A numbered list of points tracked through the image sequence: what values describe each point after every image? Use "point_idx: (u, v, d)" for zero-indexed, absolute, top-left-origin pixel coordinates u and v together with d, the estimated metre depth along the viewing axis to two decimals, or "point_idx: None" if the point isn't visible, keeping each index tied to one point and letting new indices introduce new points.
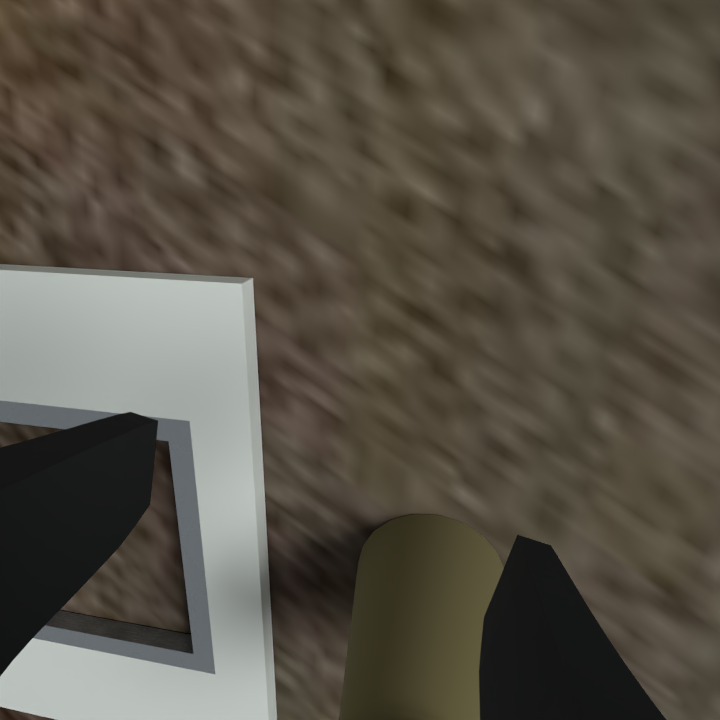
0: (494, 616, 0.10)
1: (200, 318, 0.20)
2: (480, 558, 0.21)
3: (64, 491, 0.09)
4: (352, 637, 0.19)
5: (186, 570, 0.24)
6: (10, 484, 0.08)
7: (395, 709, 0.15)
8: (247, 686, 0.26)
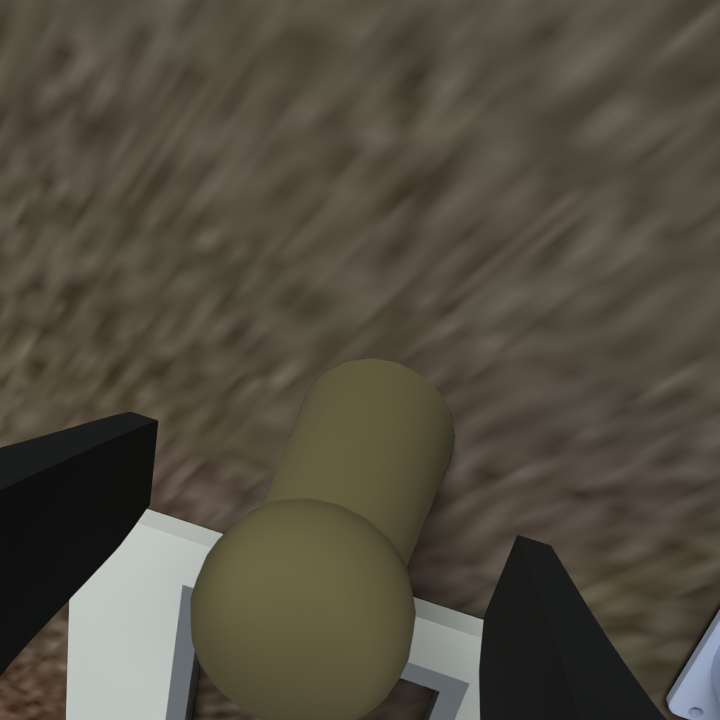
0: (494, 616, 0.10)
1: None
2: (323, 385, 0.20)
3: (64, 491, 0.09)
4: None
5: None
6: (10, 484, 0.08)
7: None
8: None
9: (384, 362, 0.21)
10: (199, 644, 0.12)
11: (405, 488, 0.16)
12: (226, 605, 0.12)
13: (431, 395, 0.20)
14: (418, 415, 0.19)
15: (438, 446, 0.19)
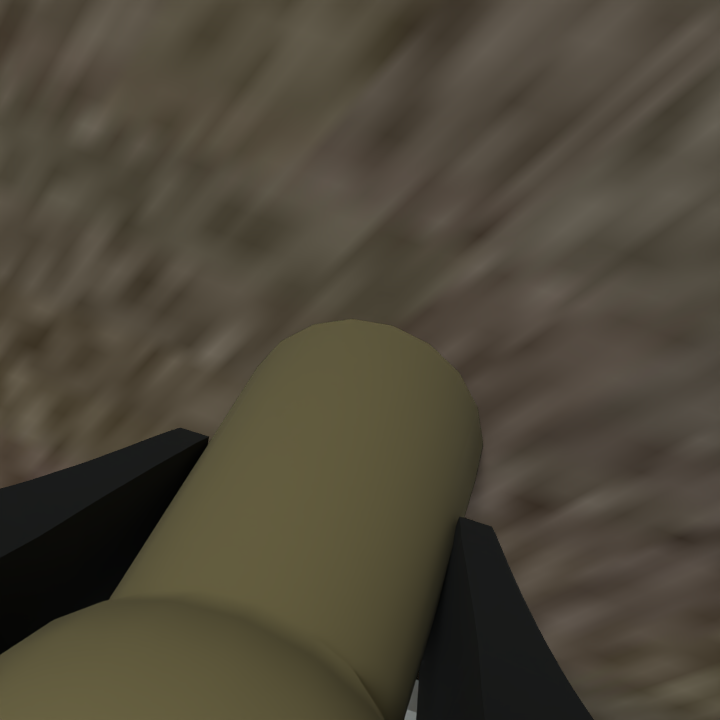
0: None
1: None
2: (272, 360, 0.13)
3: (126, 512, 0.09)
4: None
5: None
6: (81, 509, 0.07)
7: None
8: None
9: (372, 325, 0.13)
10: None
11: (405, 551, 0.08)
12: None
13: (448, 378, 0.12)
14: (427, 410, 0.11)
15: (461, 462, 0.11)
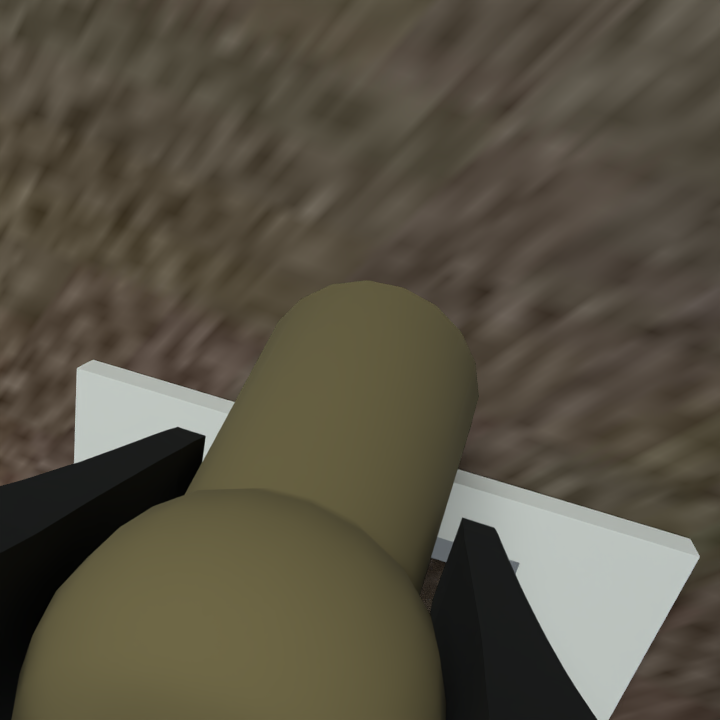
0: (439, 597, 0.10)
1: (105, 414, 0.23)
2: (296, 315, 0.14)
3: (122, 511, 0.09)
4: None
5: None
6: (77, 507, 0.07)
7: None
8: (543, 532, 0.21)
9: (385, 286, 0.14)
10: None
11: (421, 472, 0.10)
12: (68, 713, 0.06)
13: (451, 335, 0.14)
14: (436, 362, 0.13)
15: (462, 408, 0.13)
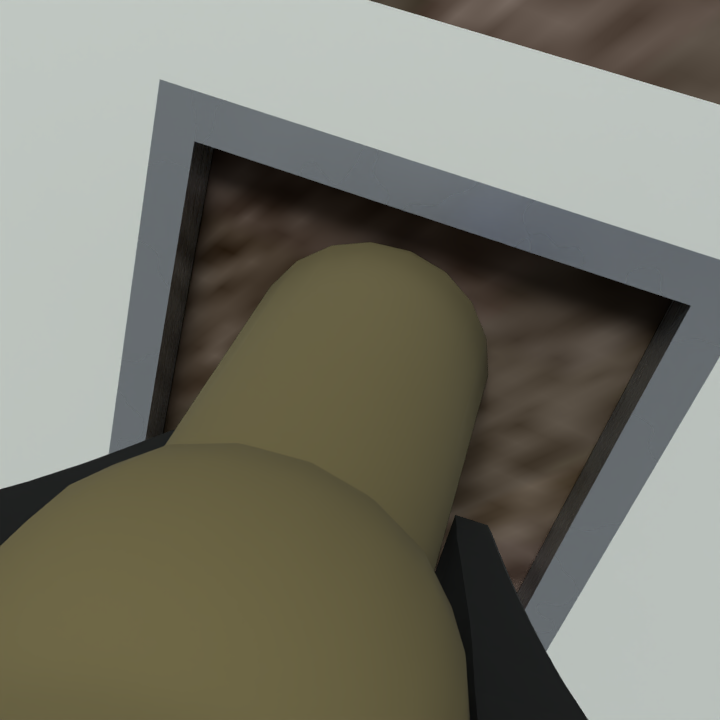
0: None
1: None
2: (291, 275, 0.13)
3: None
4: None
5: (468, 224, 0.12)
6: None
7: None
8: None
9: (391, 249, 0.13)
10: None
11: (434, 443, 0.08)
12: None
13: (462, 305, 0.13)
14: (447, 329, 0.11)
15: (474, 382, 0.12)
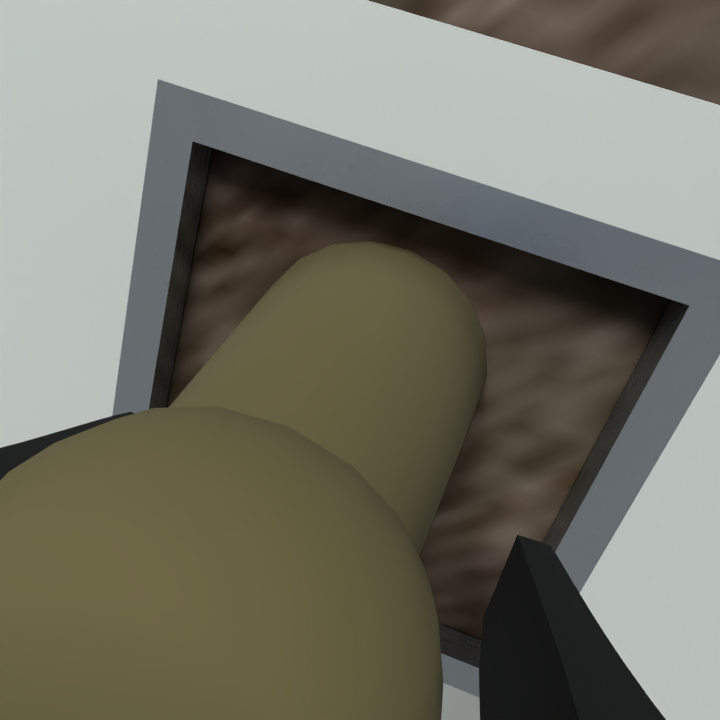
0: (494, 616, 0.10)
1: None
2: (292, 271, 0.13)
3: None
4: None
5: (467, 224, 0.12)
6: None
7: None
8: None
9: (391, 247, 0.13)
10: None
11: (422, 426, 0.08)
12: None
13: (461, 302, 0.13)
14: (443, 322, 0.11)
15: (469, 377, 0.12)
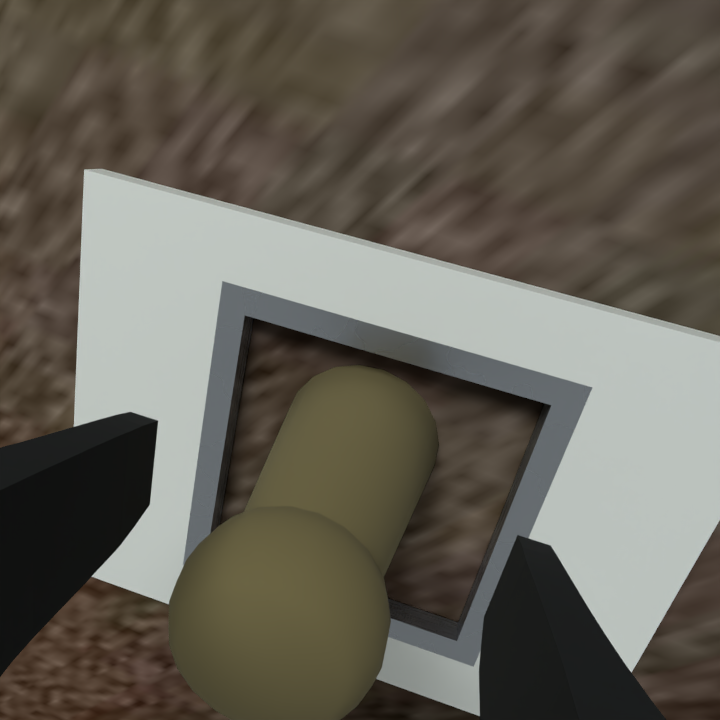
0: (494, 616, 0.10)
1: (116, 227, 0.20)
2: (310, 390, 0.20)
3: (64, 491, 0.09)
4: None
5: (415, 360, 0.19)
6: (10, 484, 0.08)
7: None
8: (622, 346, 0.18)
9: (371, 369, 0.21)
10: (176, 647, 0.12)
11: (386, 497, 0.16)
12: (204, 611, 0.12)
13: (416, 403, 0.20)
14: (402, 424, 0.19)
15: (421, 455, 0.19)
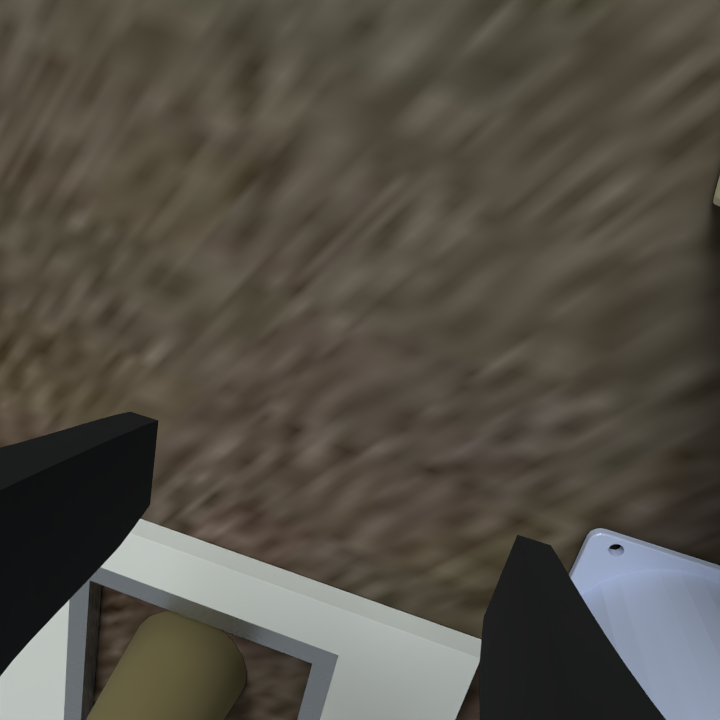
0: (494, 616, 0.10)
1: None
2: (141, 635, 0.27)
3: (64, 491, 0.09)
4: None
5: (213, 624, 0.25)
6: (10, 484, 0.08)
7: None
8: (354, 631, 0.24)
9: None
10: None
11: None
12: None
13: (222, 647, 0.26)
14: (199, 677, 0.25)
15: (215, 698, 0.25)
